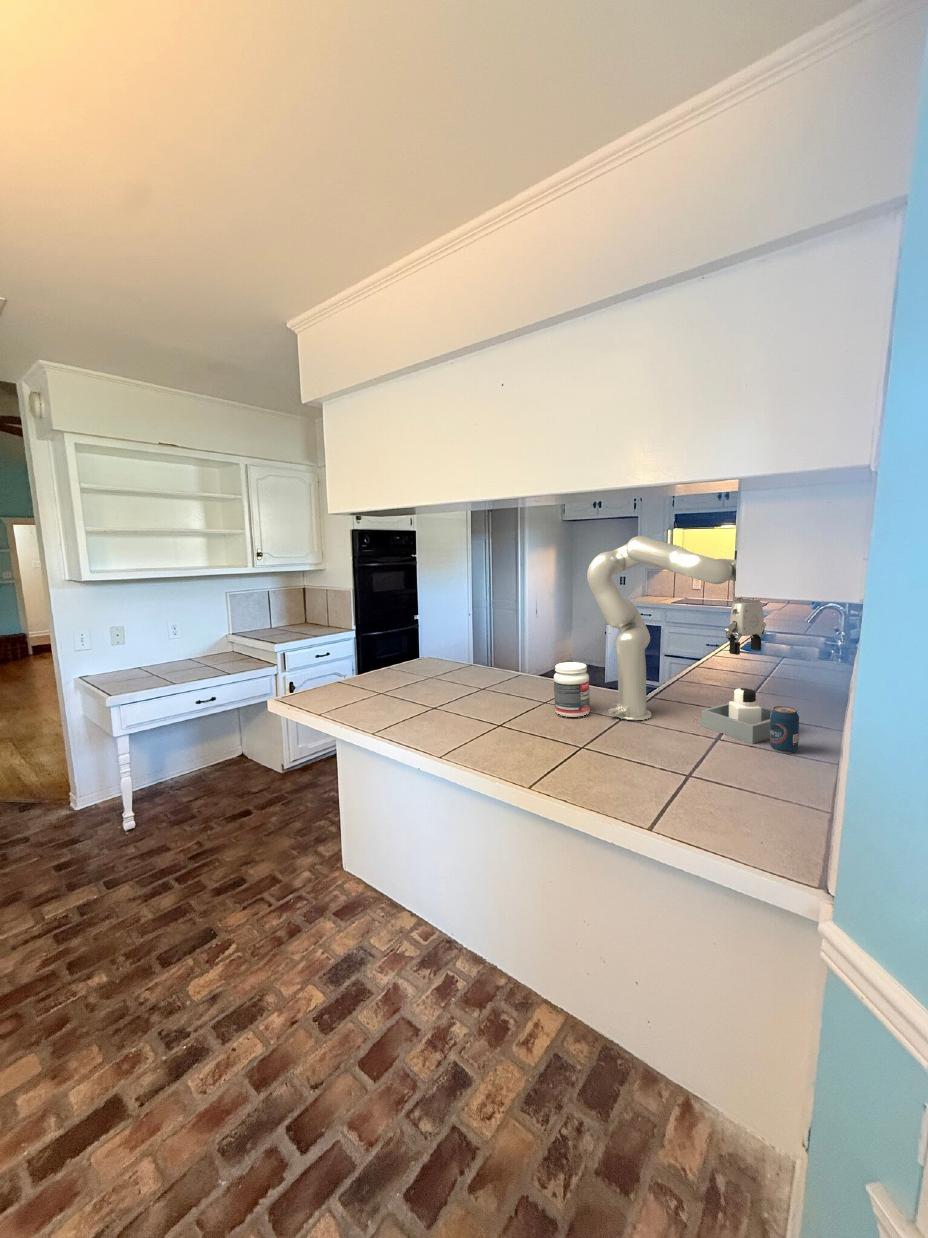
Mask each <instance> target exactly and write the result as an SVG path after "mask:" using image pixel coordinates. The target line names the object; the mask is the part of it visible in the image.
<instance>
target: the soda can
mask: <svg viewBox="0 0 928 1238" xmlns="http://www.w3.org/2000/svg"><path fill="white" fill-rule="evenodd" d="M799 734H800V715H799V713H798V710H797V709H796V708H794V707H790V706H785V705H784V706H782V705H780V706H774V707H772V712H771V714H770V739H769V744H770V745H769V746H771V748H772V750H773V751H775V752H778V753H782V752H783V754H793V753H792V752H794V753H795V752H796V751H797V750H798V748H799V741H800V740H799V739H800V738H799V737H800V735H799Z"/></svg>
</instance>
